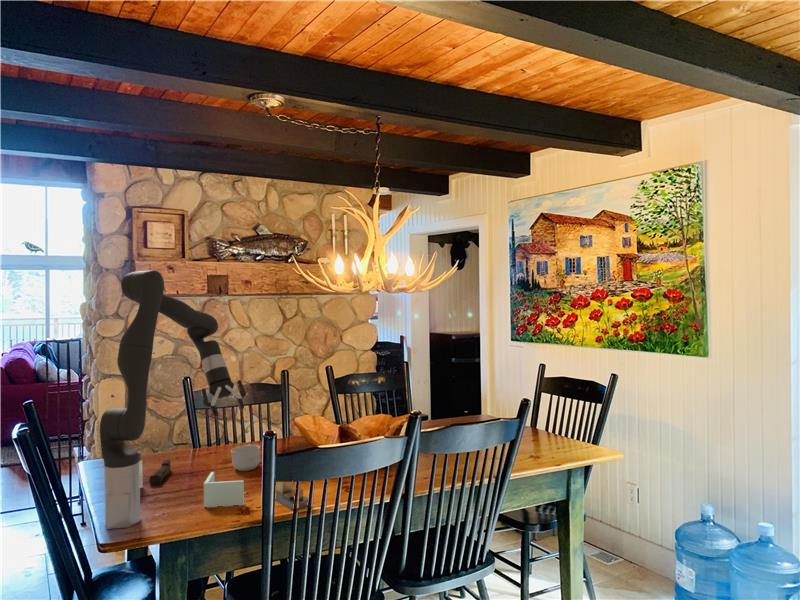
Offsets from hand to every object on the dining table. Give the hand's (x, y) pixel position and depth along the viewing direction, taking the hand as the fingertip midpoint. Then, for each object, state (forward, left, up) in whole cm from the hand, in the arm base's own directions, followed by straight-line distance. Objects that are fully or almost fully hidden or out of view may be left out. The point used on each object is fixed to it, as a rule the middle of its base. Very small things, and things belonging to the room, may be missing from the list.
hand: (229, 413), depth 196 cm
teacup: (+25, -3, -26) cm, 36 cm away
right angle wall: (-10, 0, -26) cm, 28 cm away
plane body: (-16, -20, -26) cm, 37 cm away
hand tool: (+19, +27, -26) cm, 42 cm away
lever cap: (-13, -18, -24) cm, 33 cm away
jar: (+8, +35, -26) cm, 44 cm away
